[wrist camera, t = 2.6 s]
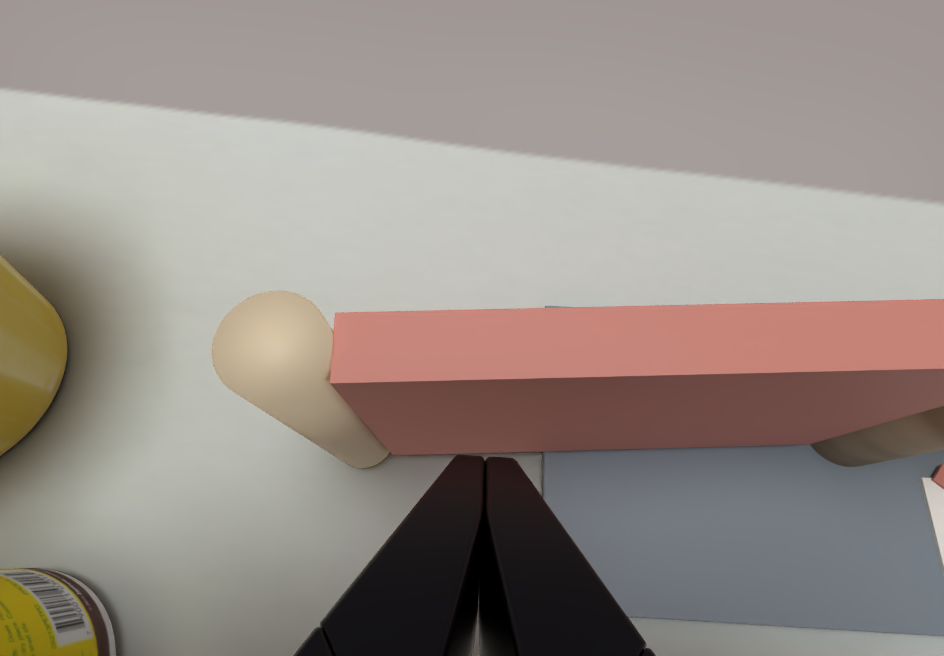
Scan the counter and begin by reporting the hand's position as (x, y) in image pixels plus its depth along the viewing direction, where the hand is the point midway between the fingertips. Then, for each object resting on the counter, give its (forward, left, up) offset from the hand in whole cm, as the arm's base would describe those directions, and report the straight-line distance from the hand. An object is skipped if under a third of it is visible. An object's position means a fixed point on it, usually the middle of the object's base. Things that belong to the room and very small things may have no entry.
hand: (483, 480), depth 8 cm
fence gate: (0, -4, -8) cm, 9 cm away
